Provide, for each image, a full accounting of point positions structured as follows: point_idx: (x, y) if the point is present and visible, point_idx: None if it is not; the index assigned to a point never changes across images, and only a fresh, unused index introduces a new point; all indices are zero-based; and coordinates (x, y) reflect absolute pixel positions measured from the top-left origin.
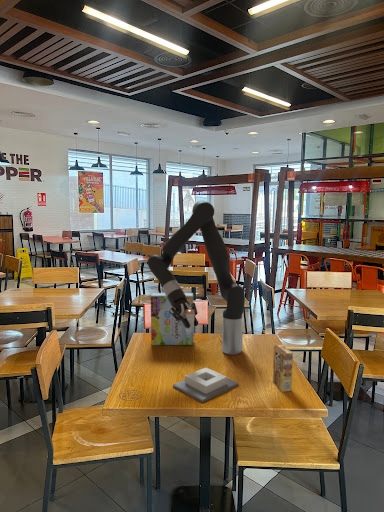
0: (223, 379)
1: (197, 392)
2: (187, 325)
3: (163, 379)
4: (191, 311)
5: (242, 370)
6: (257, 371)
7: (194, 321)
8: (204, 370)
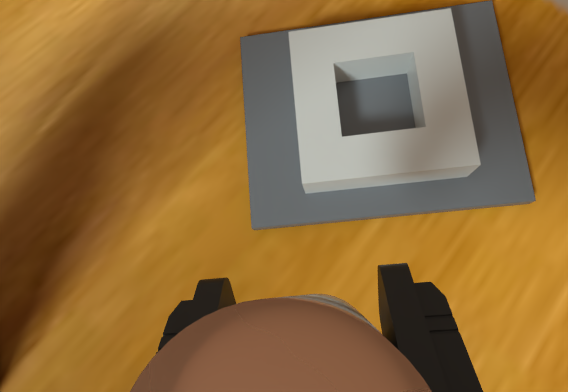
0: (317, 31)
1: (468, 63)
2: (428, 288)
3: (531, 313)
4: (320, 320)
5: (108, 144)
6: (66, 97)
7: None
8: (336, 155)
